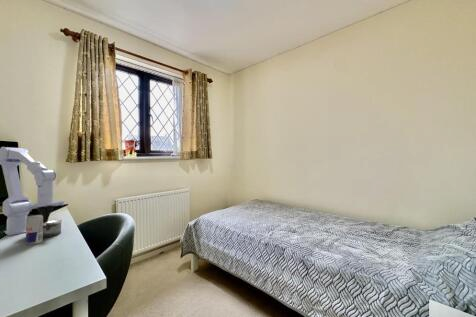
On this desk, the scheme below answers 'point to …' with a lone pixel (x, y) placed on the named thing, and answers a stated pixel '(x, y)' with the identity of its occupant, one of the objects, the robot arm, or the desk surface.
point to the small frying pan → (50, 222)
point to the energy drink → (34, 230)
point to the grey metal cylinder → (51, 231)
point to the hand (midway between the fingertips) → (45, 221)
